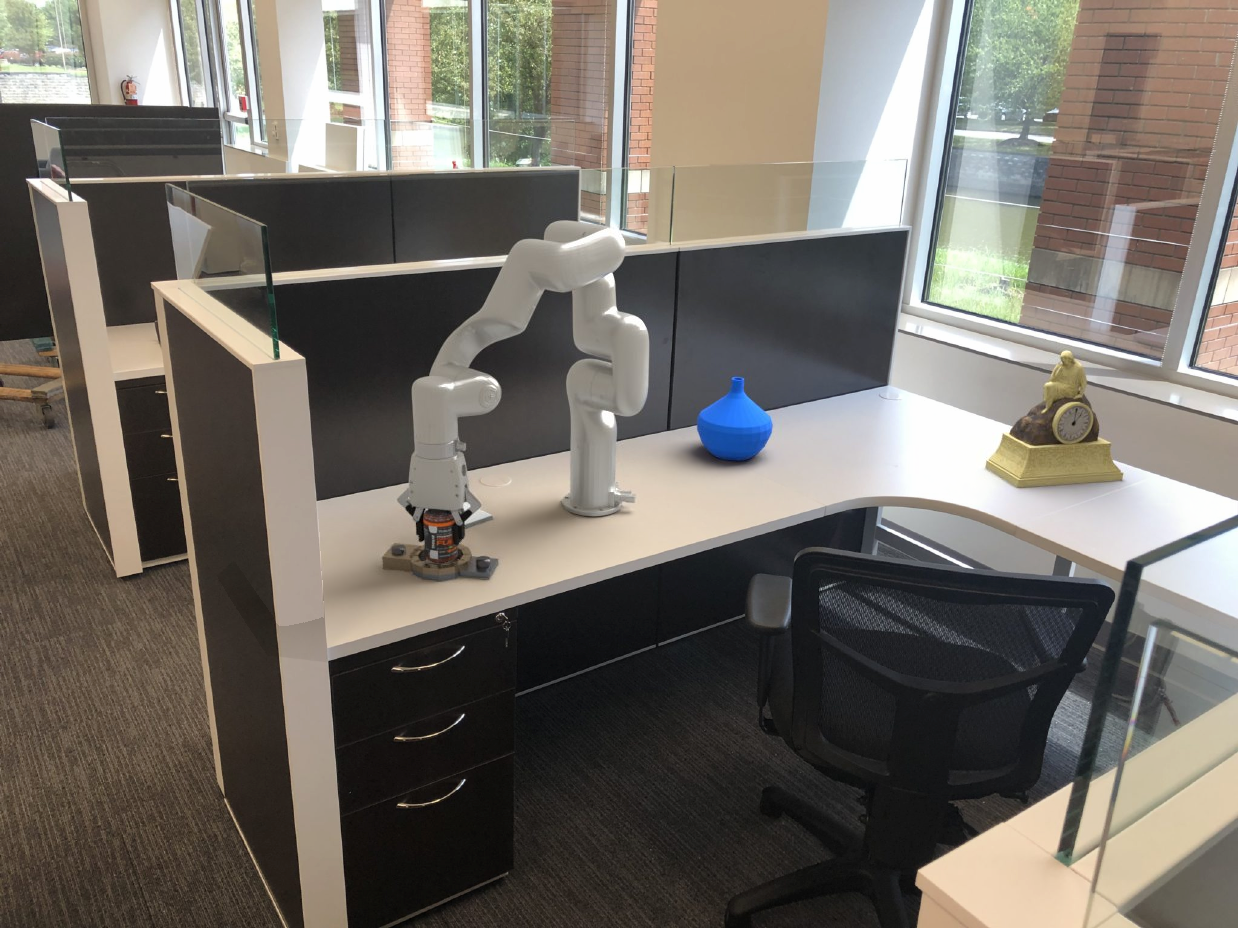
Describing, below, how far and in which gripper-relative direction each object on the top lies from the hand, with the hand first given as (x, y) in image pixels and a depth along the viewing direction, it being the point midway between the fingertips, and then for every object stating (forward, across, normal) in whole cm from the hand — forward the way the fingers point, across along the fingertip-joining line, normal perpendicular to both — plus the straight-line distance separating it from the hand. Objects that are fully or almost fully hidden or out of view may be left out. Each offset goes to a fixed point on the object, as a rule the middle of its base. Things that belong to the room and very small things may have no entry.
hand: (440, 539), depth 176 cm
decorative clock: (+6, -126, -76) cm, 148 cm away
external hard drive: (+6, +4, -23) cm, 24 cm away
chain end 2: (+5, -2, 0) cm, 6 cm away
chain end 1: (+5, +2, 0) cm, 6 cm away
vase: (+6, -50, -73) cm, 88 cm away
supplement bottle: (+4, 0, 0) cm, 4 cm away
